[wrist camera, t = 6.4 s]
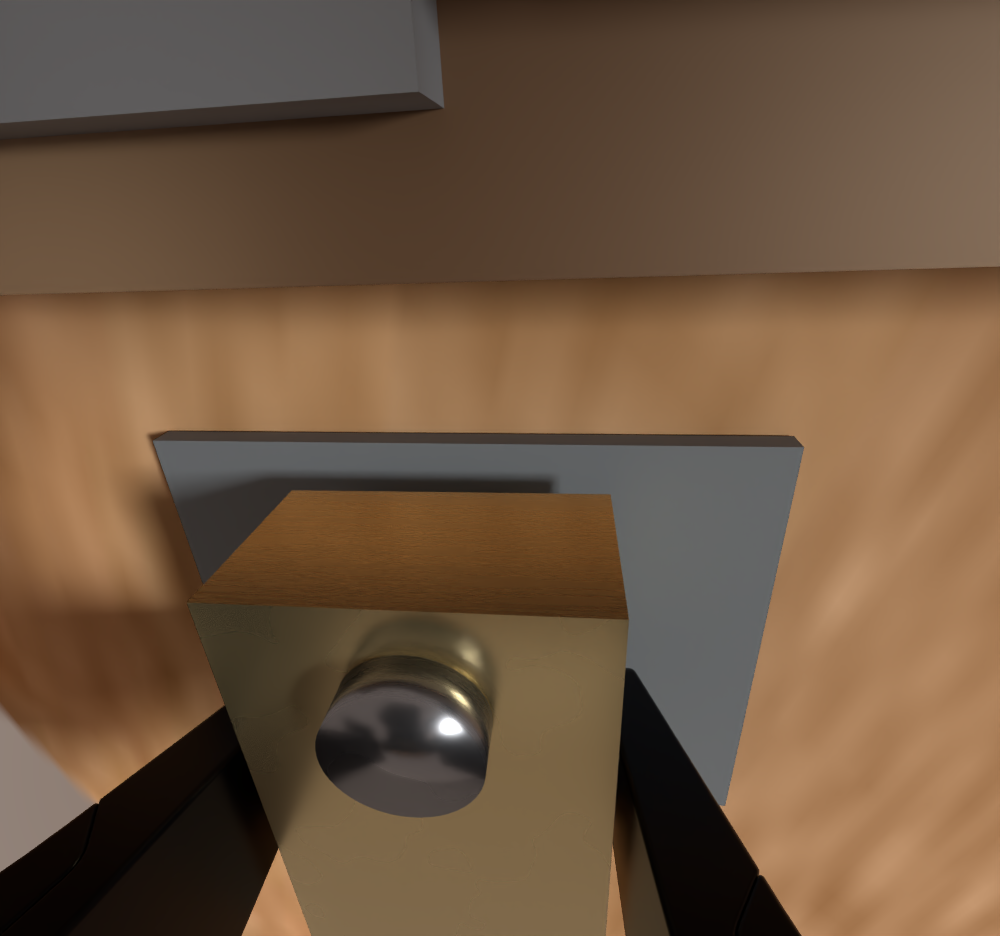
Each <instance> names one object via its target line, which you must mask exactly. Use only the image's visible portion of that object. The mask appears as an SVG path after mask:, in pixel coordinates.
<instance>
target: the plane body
mask: <svg viewBox="0 0 1000 936" xmlns="http://www.w3.org/2000/svg"><path fill="white" fill-rule="evenodd" d="M965 267H1000V0H0V295H26V294H61V293H96V292H130V291H165V290H200V289H235V288H269V287H304V286H339V285H374V284H409V283H443V282H478V281H513V280H548V279H582V278H617V277H652V276H687V275H722V274H756V273H791V272H826V271H861V270H895V269H930V268H965Z"/></svg>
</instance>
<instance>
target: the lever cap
mask: <svg viewBox="0 0 1000 936" xmlns="http://www.w3.org/2000/svg"><path fill="white" fill-rule="evenodd" d="M187 605H188V608H189V610H190V613H191V616H192V618H193V621H194V624H195V626H196V629H197V632H198V634H199V637H200V640H201V642H202V645H203V648H204V650H205V653H206V656H207V658H208V661H209V664H210V666H211V669H212V672H213V674H214V677H215V680H216V682H217V685H218V688H219V690H220V693H221V696H222V698H223V701H224V704H225V706H226V709H227V712H228V714H229V717H230V720H231V722H232V725H233V728H234V730H235V733H236V736H237V738H238V741H239V744H240V746H241V749H242V752H243V754H244V757H245V760H246V762H247V765H248V768H249V770H250V773H251V776H252V778H253V781H254V784H255V786H256V789H257V792H258V794H259V797H260V800H261V802H262V805H263V808H264V810H265V813H266V816H267V818H268V821H269V824H270V826H271V829H272V832H273V834H274V837H275V840H276V842H277V845H278V848H279V850H280V853H281V856H282V858H283V861H284V864H285V866H286V869H287V872H288V874H289V877H290V880H291V882H292V885H293V888H294V890H295V893H296V896H297V898H298V901H299V904H300V906H301V909H302V912H303V914H304V917H305V920H306V922H307V925H308V928H309V930H310V933H311V936H606V923H607V910H608V896H609V883H610V869H611V856H612V843H613V829H614V816H615V802H616V789H617V775H618V762H619V748H620V735H621V721H622V708H623V695H624V681H625V668H626V654H627V641H628V627H629V616H628V609H627V602H626V596H625V589H624V582H623V575H622V568H621V562H620V555H619V548H618V541H617V534H616V528H615V521H614V514H613V507H612V500H611V494H552V493H471V492H391V491H311V490H292V491H291V492H290V493H289V494H288V495H287V496H286V497H285V498H284V499H283V500H282V501H281V502H280V504H279V505H278V506H277V507H276V508H275V509H274V510H273V511H272V512H271V513H270V514H269V515H268V516H267V517H266V518H265V520H264V521H263V522H262V523H261V524H260V525H259V526H258V527H257V528H256V529H255V530H254V531H253V532H252V533H251V534H250V536H249V537H248V538H247V539H246V540H245V541H244V542H243V543H242V544H241V545H240V546H239V547H238V548H237V549H236V550H235V552H234V553H233V554H232V555H231V556H230V557H229V558H228V559H227V560H226V561H225V562H224V563H223V564H222V565H221V566H220V568H219V569H218V570H217V571H216V572H215V573H214V574H213V575H212V576H211V577H210V578H209V579H208V580H207V581H206V582H205V584H204V585H203V586H202V587H201V588H200V589H199V590H198V591H197V592H196V593H195V594H194V595H193V596H192V597H191V599H190V600H189V601H188V602H187Z"/></svg>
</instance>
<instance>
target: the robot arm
mask: <svg viewBox="0 0 1000 936" xmlns="http://www.w3.org/2000/svg"><path fill="white" fill-rule="evenodd" d="M613 850H614V857H615V864H616V871H617V878H618V885H619V892H620V900H621V907H622V914H623V921H624V928H625V935H626V936H801V934H800V933H799V931H798V930H797V928H796V927H795V925H794V924H793V922H792V920H791V919H790V917H789V916H788V914H787V913H786V911H785V910H784V908H783V907H782V905H781V904H780V902H779V900H778V899H777V897H776V896H775V894H774V892H773V891H772V889H771V887H770V886H769V884H768V883H767V881H766V879H765V878H764V877H763V876H762V875H759V869H758V867H757V865H756V864H755V862H754V861H753V859H752V857H751V856H750V854H749V853H748V851H747V849H746V848H745V846H744V845H743V843H742V841H741V840H740V838H739V837H738V835H737V833H736V832H735V830H734V829H733V827H732V825H731V824H730V822H729V821H728V819H727V817H726V816H725V814H724V813H723V811H722V809H721V808H720V806H719V805H718V803H717V801H716V800H715V798H714V796H713V795H712V793H711V792H710V790H709V788H708V787H707V785H706V784H705V782H704V780H703V779H702V777H701V776H700V774H699V772H698V771H697V769H696V768H695V766H694V764H693V763H692V761H691V760H690V758H689V756H688V755H687V753H686V752H685V750H684V748H683V747H682V745H681V744H680V742H679V740H678V739H677V737H676V736H675V734H674V732H673V731H672V729H671V728H670V726H669V724H668V723H667V721H666V720H665V718H664V716H663V715H662V713H661V711H660V710H659V708H658V707H657V705H656V703H655V702H654V700H653V699H652V697H651V695H650V694H649V692H648V691H647V689H646V687H645V686H644V684H643V683H642V681H641V679H640V678H639V676H638V675H637V673H636V672H635V670H633V669H632V668H625V681H624V695H623V708H622V721H621V735H620V748H619V762H618V775H617V789H616V802H615V816H614V829H613ZM277 851H278V845H277V842H276V840H275V837H274V834H273V832H272V829H271V826H270V824H269V821H268V818H267V816H266V813H265V810H264V808H263V805H262V802H261V800H260V797H259V794H258V792H257V789H256V786H255V784H254V781H253V778H252V776H251V773H250V770H249V768H248V765H247V762H246V760H245V757H244V754H243V752H242V749H241V746H240V744H239V741H238V738H237V736H236V733H235V730H234V728H233V725H232V722H231V720H230V717H229V714H228V712H227V709H226V706H225V705H224V706H223V707H222V708H221V709H219V710H218V711H217V712H215V713H214V714H213V715H211V716H210V717H209V718H207V719H206V720H205V721H203V722H202V723H201V724H199V725H198V726H197V727H195V728H194V729H193V730H191V731H190V732H189V733H187V734H186V735H185V736H183V737H182V738H181V739H180V740H178V741H177V742H176V743H174V744H173V745H172V746H170V747H169V748H168V749H166V750H165V751H164V752H162V753H161V754H160V755H158V756H157V757H156V758H154V759H153V760H152V761H150V762H149V763H148V764H146V765H145V766H144V767H142V768H141V769H140V770H138V771H137V772H136V773H135V774H133V775H132V776H131V777H129V778H128V779H127V780H125V781H124V782H123V783H121V784H120V785H119V786H117V787H116V788H115V789H113V790H112V791H111V792H109V793H108V794H107V795H105V796H104V797H103V798H102V799H101V800H100V801H99V804H97V803H96V804H93V805H92V806H91V807H89V808H88V809H87V810H85V811H84V812H83V813H81V814H80V815H79V816H77V817H76V818H75V819H74V820H72V821H71V822H70V823H68V824H67V825H66V826H64V827H63V828H61V829H60V830H59V831H58V832H56V833H54V834H53V835H52V836H50V837H49V838H48V839H46V840H45V841H44V842H42V843H41V844H39V845H38V846H37V847H35V848H34V849H33V850H31V851H30V852H29V853H27V854H26V855H24V856H23V857H22V858H20V859H18V860H17V861H16V862H14V863H13V864H11V865H10V866H8V867H7V868H6V869H4V870H3V871H1V872H0V936H242V933H243V931H244V929H245V926H246V924H247V922H248V919H249V917H250V914H251V912H252V910H253V907H254V905H255V903H256V900H257V898H258V896H259V893H260V891H261V888H262V886H263V884H264V881H265V879H266V877H267V874H268V872H269V869H270V867H271V865H272V862H273V860H274V858H275V855H276V853H277ZM758 875H759V876H758Z"/></svg>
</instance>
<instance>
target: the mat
mask: <svg viewBox="0 0 1000 936" xmlns="http://www.w3.org/2000/svg"><path fill="white" fill-rule="evenodd" d="M153 443H154V446H155V449H156V452H157V454H158V457H159V460H160V463H161V466H162V469H163V471H164V474H165V477H166V480H167V483H168V486H169V489H170V491H171V494H172V497H173V500H174V503H175V506H176V508H177V511H178V514H179V517H180V520H181V523H182V526H183V528H184V531H185V534H186V537H187V540H188V543H189V545H190V548H191V551H192V554H193V557H194V560H195V563H196V565H197V568H198V571H199V574H200V577H201V580H202V582H203V585H204V584H205V582H206V581H207V580H208V579H209V578H210V577H211V576H212V575H213V574H214V573H215V572H216V571H217V570H218V569H219V568H220V566H221V565H222V564H223V563H224V562H225V561H226V560H227V559H228V558H229V557H230V556H231V555H232V554H233V553H234V552H235V550H236V549H237V548H238V547H239V546H240V545H241V544H242V543H243V542H244V541H245V540H246V539H247V538H248V537H249V536H250V534H251V533H252V532H253V531H254V530H255V529H256V528H257V527H258V526H259V525H260V524H261V523H262V522H263V521H264V520H265V518H266V517H267V516H268V515H269V514H270V513H271V512H272V511H273V510H274V509H275V508H276V507H277V506H278V505H279V504H280V502H281V501H282V500H283V499H284V498H285V497H286V496H287V495H288V494H289V493H290V492H291V491H292V490H311V491H391V492H471V493H552V494H611V500H612V507H613V514H614V521H615V528H616V534H617V541H618V548H619V555H620V562H621V568H622V575H623V582H624V589H625V596H626V602H627V609H628V616H629V627H628V641H627V654H626V668H632V669H633V670H635V672H636V673H637V675H638V676H639V678H640V679H641V681H642V683H643V684H644V686H645V687H646V689H647V691H648V692H649V694H650V695H651V697H652V699H653V700H654V702H655V703H656V705H657V707H658V708H659V710H660V711H661V713H662V715H663V716H664V718H665V720H666V721H667V723H668V724H669V726H670V728H671V729H672V731H673V732H674V734H675V736H676V737H677V739H678V740H679V742H680V744H681V745H682V747H683V748H684V750H685V752H686V753H687V755H688V756H689V758H690V760H691V761H692V763H693V764H694V766H695V768H696V769H697V771H698V772H699V774H700V776H701V777H702V779H703V780H704V782H705V784H706V785H707V787H708V788H709V790H710V792H711V793H712V795H713V796H714V798H715V800H716V801H717V803H718V805H723V806H725V804H726V799H727V795H728V790H729V786H730V781H731V777H732V772H733V768H734V763H735V758H736V754H737V749H738V745H739V740H740V736H741V731H742V727H743V722H744V718H745V713H746V708H747V704H748V699H749V695H750V690H751V686H752V681H753V677H754V672H755V668H756V663H757V659H758V654H759V649H760V645H761V640H762V636H763V631H764V627H765V622H766V618H767V613H768V609H769V604H770V599H771V595H772V590H773V586H774V581H775V577H776V572H777V568H778V563H779V559H780V554H781V549H782V545H783V540H784V536H785V531H786V527H787V522H788V518H789V513H790V509H791V504H792V499H793V495H794V490H795V486H796V481H797V477H798V472H799V468H800V463H801V459H802V454H803V449H804V447H803V446H802V445H801V444H800V442H799V441H798V440H797V439H796V438H795V437H794V436H710V435H584V434H458V433H331V432H205V431H168V432H167V433H165V434H163V435H161V436H160V437H158V438H156V439H155V440H153Z"/></svg>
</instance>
